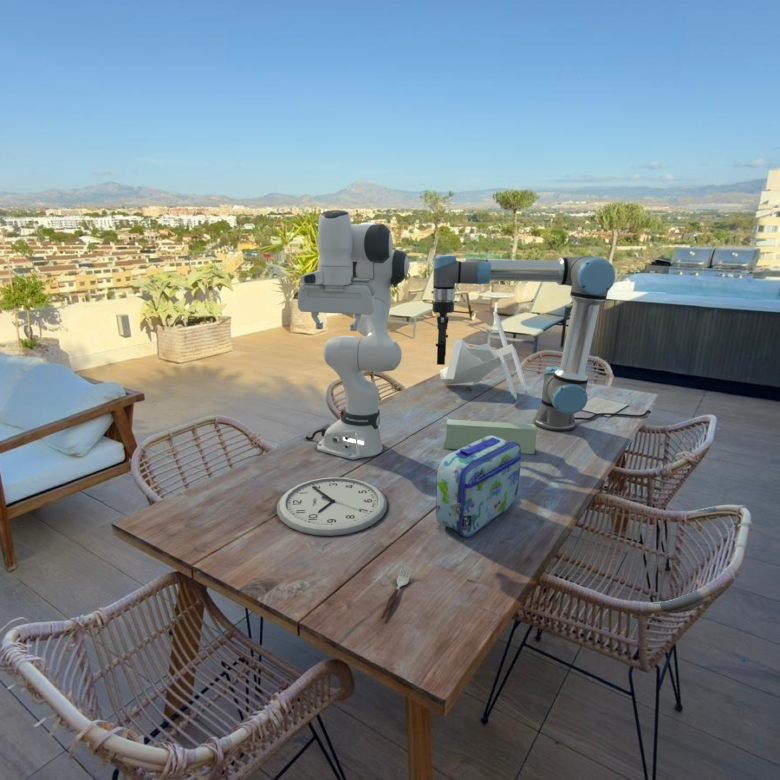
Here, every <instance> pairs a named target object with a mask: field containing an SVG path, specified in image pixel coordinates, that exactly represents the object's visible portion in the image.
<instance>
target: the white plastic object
mask: <svg viewBox="0 0 780 780" xmlns="http://www.w3.org/2000/svg"><path fill="white" fill-rule="evenodd" d="M492 315H493V319H494V321H495V324H496V325H495V326H496V328H497V332H498V335H499V338H500V342H501V345H502V347H500V348H498V349H496V350H495V349H493V348H492V347H491V346H490V344H489V343H488V342H487V343H483V344H479V345H473V346H469V345H468V343H466V342H465V340H464V339H463V338H460V339H458V338H454V340H453V344H452V349H451V353H450V357H449V362H448V366H446V367H444V368H442V369H440V370H439V371H438V372H439V376H440V381H442V383H443V384H444V385H445V386H449V385H458V384H467V383H468V384H469V383H473V384H477V383H480V382H482V381H484V378H485V377H486V376H487V375H489V374H490V373H492V372H494V371H495V370H496V369H497V368H499V367H500V366H502V370H503V373H504V376H505V380H506V383H507V386H508V390H509V393H510V394H511V395H512V397H513V398H514V399H515V400H517V392H516V391H517V390H516V388H515V385H514V381H513V378H512V375H511V371H510V369H509V365H508V361H510V360H513V363H514V366H515V369H516V372H517V376H518V380H519V382H520V385H521V389H522V391H523V393H524V395H525V396H526V397H528V396H531V395H530V390H529V388H528V387H529V386H528V384H527V381H526V378H525V375H524V371H523V369H522V368H523V367H522V366H521V362H520V359H519V355H518V352H517V349H516V347H515V346H514V345H513V343H511V344H508V341H507V337H506V334H505V331H504V328H503V325H502V321H501V318H500V315H499V314H498V312H497V311H496V310H495V311H492Z"/></svg>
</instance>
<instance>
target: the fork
mask: <svg viewBox="0 0 780 780" xmlns="http://www.w3.org/2000/svg"><path fill="white" fill-rule="evenodd" d="M403 567H404V568H403ZM406 567H407V565H405V566H404V564H402V565H401V568H400V571H399V573H398V576H397V578H396V584H397V587H396V589H394V591H393V592H392V593H391V595H390V597H389V599H387V603H386V605H385V608H384V610H383V613H382V616H381V619H384V617H385V616H386V614H387V613H388V611H389V610H390V608H391V607H392V606H393V604H394V603H395V601H396V598H397V595H398V593H399V590H400V588H401V587H403V586H406V585H408V584H409V582H410V578H411V574H412V570H413V567H411V568H410V566H408V567H407V570H406ZM409 568H410V571H409ZM408 573H409V574H408Z"/></svg>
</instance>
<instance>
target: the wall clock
mask: <svg viewBox="0 0 780 780" xmlns="http://www.w3.org/2000/svg"><path fill="white" fill-rule="evenodd" d="M387 509H388V500H387V498H386V496H385V494H384V493H383V492H382V491H381V490H380V489H379V488H377V487H376V486H374V485H372V484H371V483H369V482H365V481H362V480H359V479H355V478H349V477H338V476H337V477H335V476H333V477H332V476H331V477H322V478H317V479H312V480H307V481H305V482H302V483H299V484H297V485H295V486H293V487H292V488H290V489H288V490H287V491H286V492H285V493H284V494H283V495H281V496H280V498H279V499H278V502H277V503H276V515H277V517H278V518H279V520H280V521H281V522H282V523H283V524H285V525H286V526H287V527H288V528H290V529H293V530H295V531H297V532H299V533H303V534H308V535H312V536H327V537H328V536H329V537H331V536H332V537H333V536H342V535H350V534H352V533H356V532H361V531H363V530H366V529H368V528H369V527H372V526H373V525H375V524H376V523H378V522H379V521H380V520H381V519H382V518H383V517H384V516H385V514H386V512H387Z"/></svg>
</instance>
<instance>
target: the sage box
mask: <svg viewBox="0 0 780 780" xmlns="http://www.w3.org/2000/svg"><path fill="white" fill-rule="evenodd" d="M537 432H538V429H537V425H536V424H535V423H518V422H503V421H501V422H500V421H484V420H483V421H482V420H467V419H449V418H447V419H446V432H445V433H446V434H445V436H446V437H445V449H448V450H459V449H461V448H463V447H465V446H467V445H469V444H471V443H474V442H476V441H478V440H480V439H482V438H485V437H487V436H496V437H498V438H501V439H504V440H506V441H509V442H517V443H518V444H519V445H520V449H521V454H524V455H525V454H526V455H527V454H528V455H535V450H536V440H537V434H538V433H537Z"/></svg>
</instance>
